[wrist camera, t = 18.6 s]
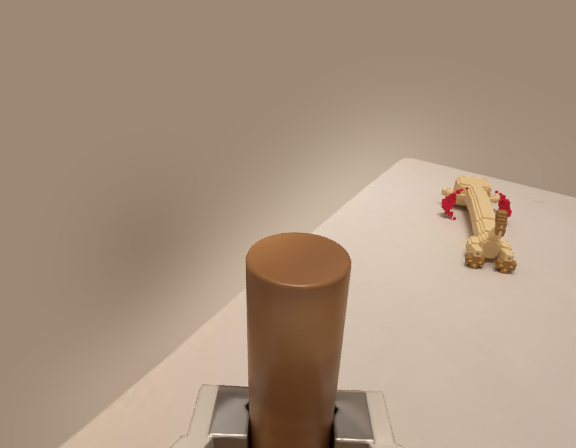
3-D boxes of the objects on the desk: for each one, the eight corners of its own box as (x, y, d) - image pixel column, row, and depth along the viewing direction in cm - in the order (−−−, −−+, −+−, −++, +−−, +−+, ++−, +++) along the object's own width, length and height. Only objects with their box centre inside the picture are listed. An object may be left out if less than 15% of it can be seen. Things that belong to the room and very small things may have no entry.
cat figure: (528, 284, 51) (495, 196, 71) (552, 225, 46) (509, 149, 67) (445, 271, 53) (436, 189, 73) (461, 213, 48) (446, 143, 69)
